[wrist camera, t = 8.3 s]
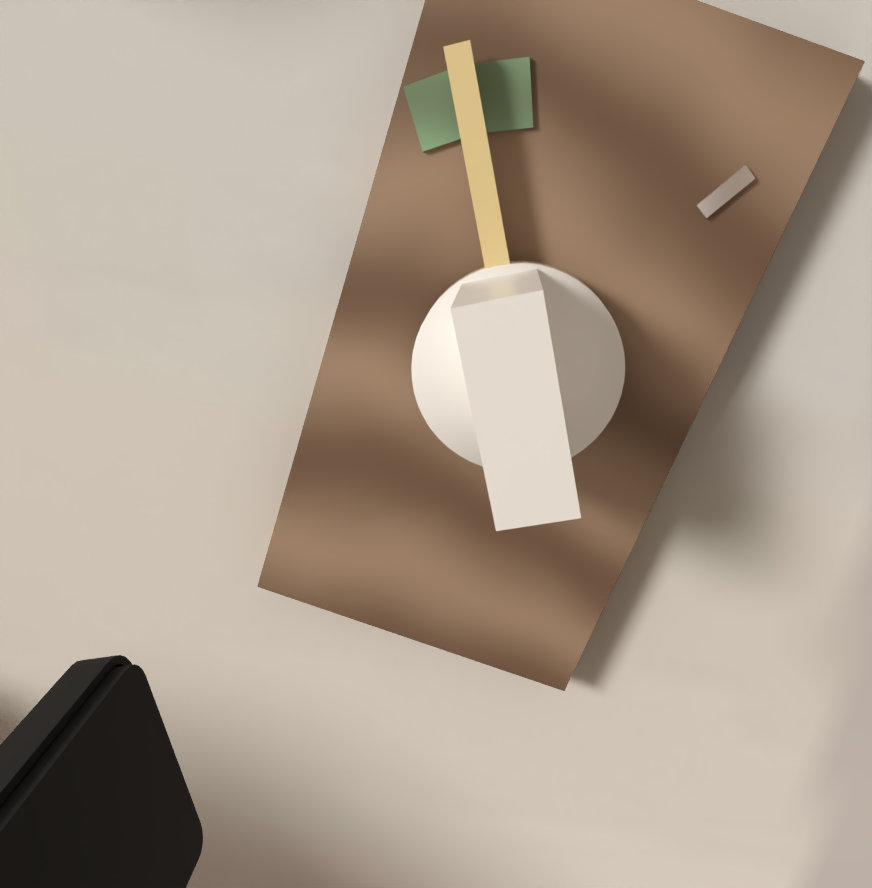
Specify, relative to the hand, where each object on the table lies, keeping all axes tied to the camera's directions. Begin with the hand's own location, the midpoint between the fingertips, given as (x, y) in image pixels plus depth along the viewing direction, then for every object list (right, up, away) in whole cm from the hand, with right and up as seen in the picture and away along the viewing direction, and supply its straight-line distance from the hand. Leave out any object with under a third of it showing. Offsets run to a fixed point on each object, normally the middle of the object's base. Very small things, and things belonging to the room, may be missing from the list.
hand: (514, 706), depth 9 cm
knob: (+1, +9, +16) cm, 18 cm away
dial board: (+2, +7, +19) cm, 20 cm away
